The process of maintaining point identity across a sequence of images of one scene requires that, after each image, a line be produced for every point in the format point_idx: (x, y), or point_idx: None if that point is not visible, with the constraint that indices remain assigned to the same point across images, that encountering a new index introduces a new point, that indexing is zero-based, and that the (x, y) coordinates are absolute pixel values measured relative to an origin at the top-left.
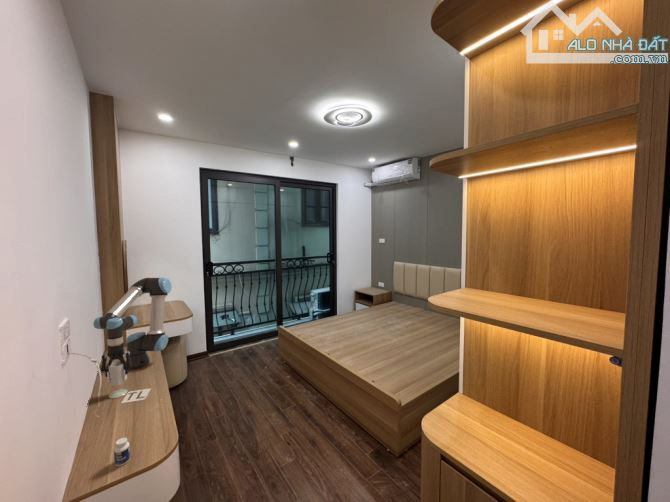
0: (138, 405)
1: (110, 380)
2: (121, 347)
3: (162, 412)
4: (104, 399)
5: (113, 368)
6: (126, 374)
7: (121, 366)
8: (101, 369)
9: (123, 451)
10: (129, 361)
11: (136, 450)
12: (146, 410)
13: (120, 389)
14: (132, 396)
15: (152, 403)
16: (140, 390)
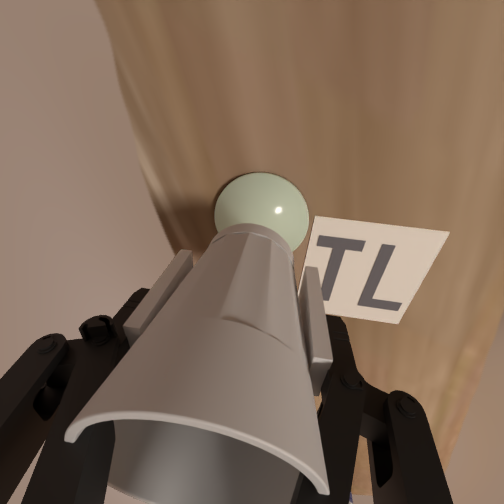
0: (367, 350)
1: (191, 265)
2: None
3: (444, 414)
4: (206, 244)
5: (201, 484)
6: (320, 299)
7: (288, 482)
8: (43, 399)
9: None
10: None
11: (360, 472)
12: (394, 386)
13: (260, 176)
14: (340, 276)
15: (424, 361)
16: (383, 231)
